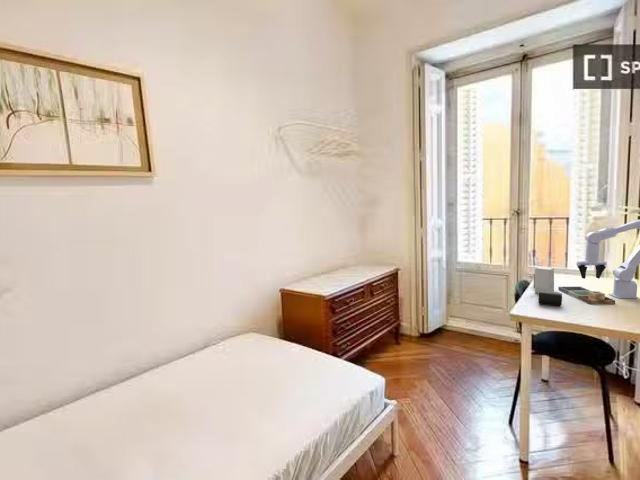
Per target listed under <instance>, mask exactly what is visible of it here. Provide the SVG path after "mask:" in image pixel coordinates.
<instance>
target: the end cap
mask: <svg viewBox="0 0 640 480" xmlns="http://www.w3.org/2000/svg"><path fill="white" fill-rule="evenodd" d="M562 293H563V292H562ZM562 293H561V292H560V291H559V292H558V291H554V292H547V291H539V293H538V304H539V305H544V306H545V305H546V306H555V307H561V306H562V305H563V304H562V303H563V294H562Z"/></svg>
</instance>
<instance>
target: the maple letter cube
mask: <svg viewBox="0 0 640 480" xmlns="http://www.w3.org/2000/svg"><path fill="white" fill-rule="evenodd" d="M605 297H606V294H605V293H604V292H603V291H602V292H601V291H598V290H595V291H592V290H590V291H588V299H589V300H605Z"/></svg>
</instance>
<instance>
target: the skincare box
mask: <svg viewBox="0 0 640 480" xmlns="http://www.w3.org/2000/svg"><path fill="white" fill-rule="evenodd" d="M534 274H535V287H534V293H535V294H539V291H547V292H555V268H554V267H545V266H544V267H543V266H537V267H535V268H534Z"/></svg>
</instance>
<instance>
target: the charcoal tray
mask: <svg viewBox="0 0 640 480" xmlns="http://www.w3.org/2000/svg"><path fill="white" fill-rule="evenodd" d="M558 291H559V292H562V293H564V294H566V295H568V291H591V290H590V289H587V288H586V287H583V286H558Z"/></svg>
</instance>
